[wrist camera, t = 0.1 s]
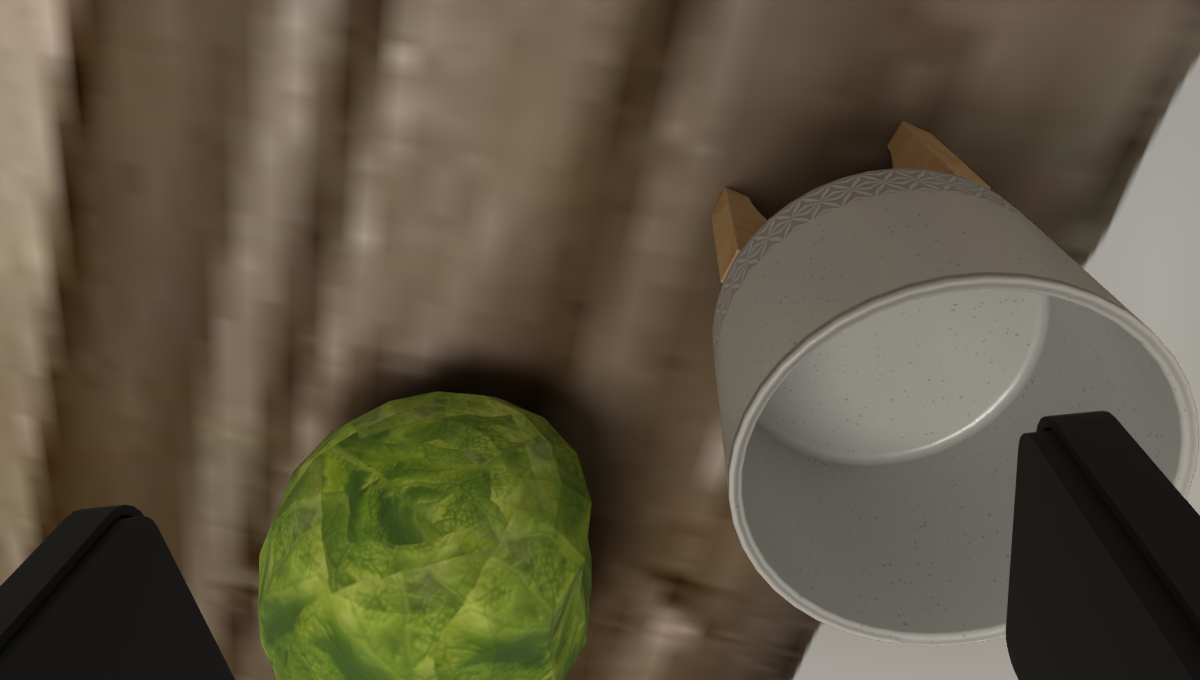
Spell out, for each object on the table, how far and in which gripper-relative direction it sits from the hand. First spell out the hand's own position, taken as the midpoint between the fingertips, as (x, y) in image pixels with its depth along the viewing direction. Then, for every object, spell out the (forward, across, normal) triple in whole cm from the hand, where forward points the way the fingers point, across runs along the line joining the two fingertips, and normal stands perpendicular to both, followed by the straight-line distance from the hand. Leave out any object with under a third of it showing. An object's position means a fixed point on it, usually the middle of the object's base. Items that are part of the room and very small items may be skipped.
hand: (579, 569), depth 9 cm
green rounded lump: (+31, +14, +23) cm, 41 cm away
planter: (+31, -8, +10) cm, 34 cm away
